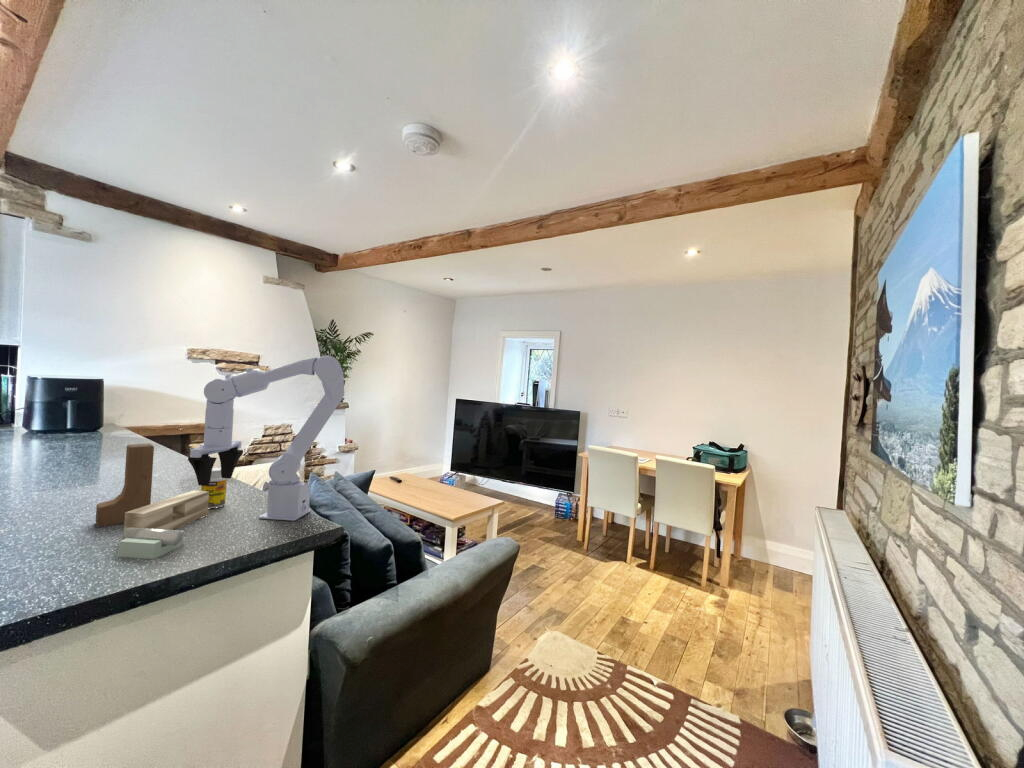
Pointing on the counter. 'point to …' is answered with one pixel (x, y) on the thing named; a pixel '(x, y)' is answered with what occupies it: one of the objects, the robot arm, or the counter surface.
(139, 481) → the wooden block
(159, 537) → the axle
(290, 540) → the counter surface
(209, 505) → the supplement bottle
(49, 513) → the counter surface
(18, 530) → the counter surface
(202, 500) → the beam
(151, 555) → the v block
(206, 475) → the robot arm
